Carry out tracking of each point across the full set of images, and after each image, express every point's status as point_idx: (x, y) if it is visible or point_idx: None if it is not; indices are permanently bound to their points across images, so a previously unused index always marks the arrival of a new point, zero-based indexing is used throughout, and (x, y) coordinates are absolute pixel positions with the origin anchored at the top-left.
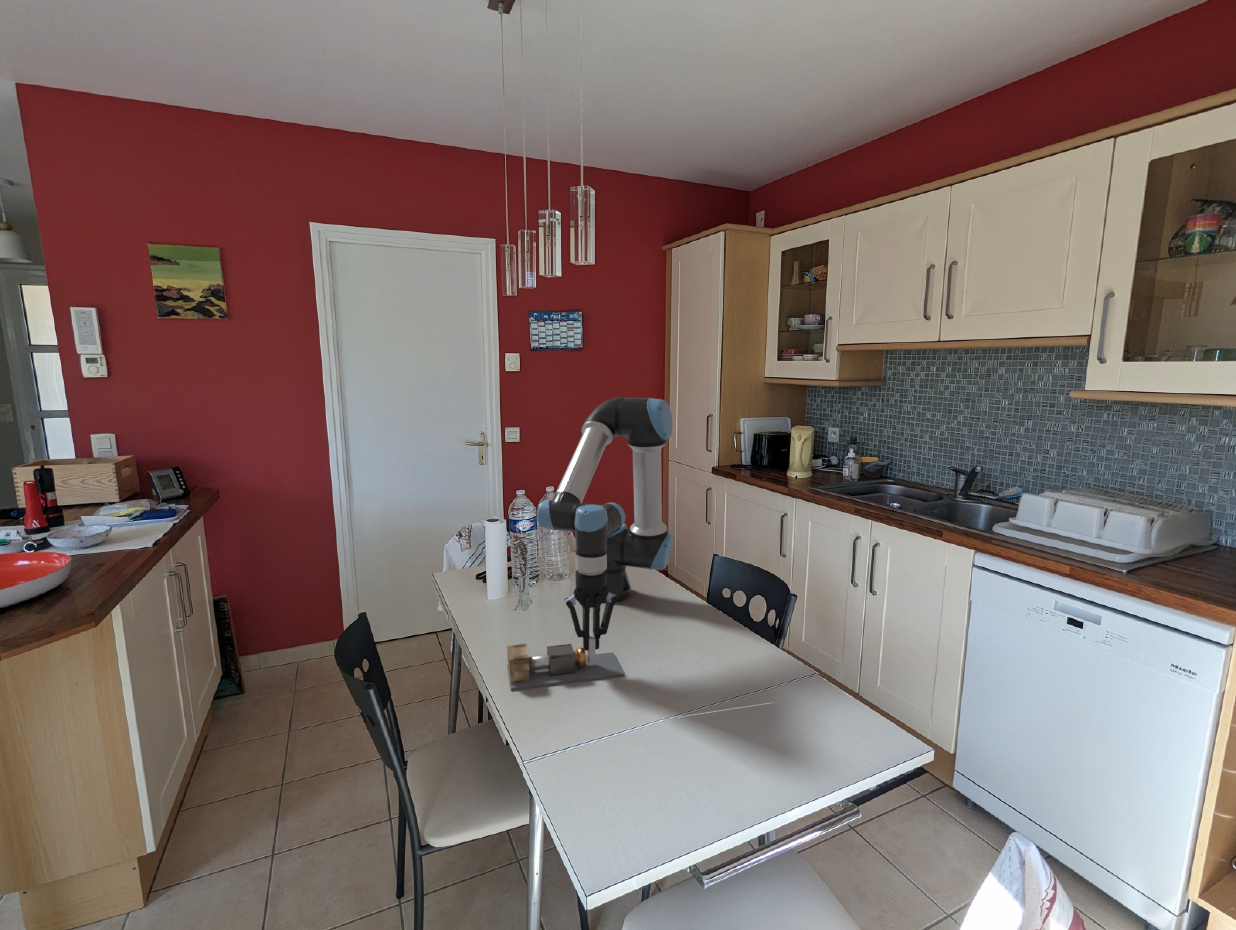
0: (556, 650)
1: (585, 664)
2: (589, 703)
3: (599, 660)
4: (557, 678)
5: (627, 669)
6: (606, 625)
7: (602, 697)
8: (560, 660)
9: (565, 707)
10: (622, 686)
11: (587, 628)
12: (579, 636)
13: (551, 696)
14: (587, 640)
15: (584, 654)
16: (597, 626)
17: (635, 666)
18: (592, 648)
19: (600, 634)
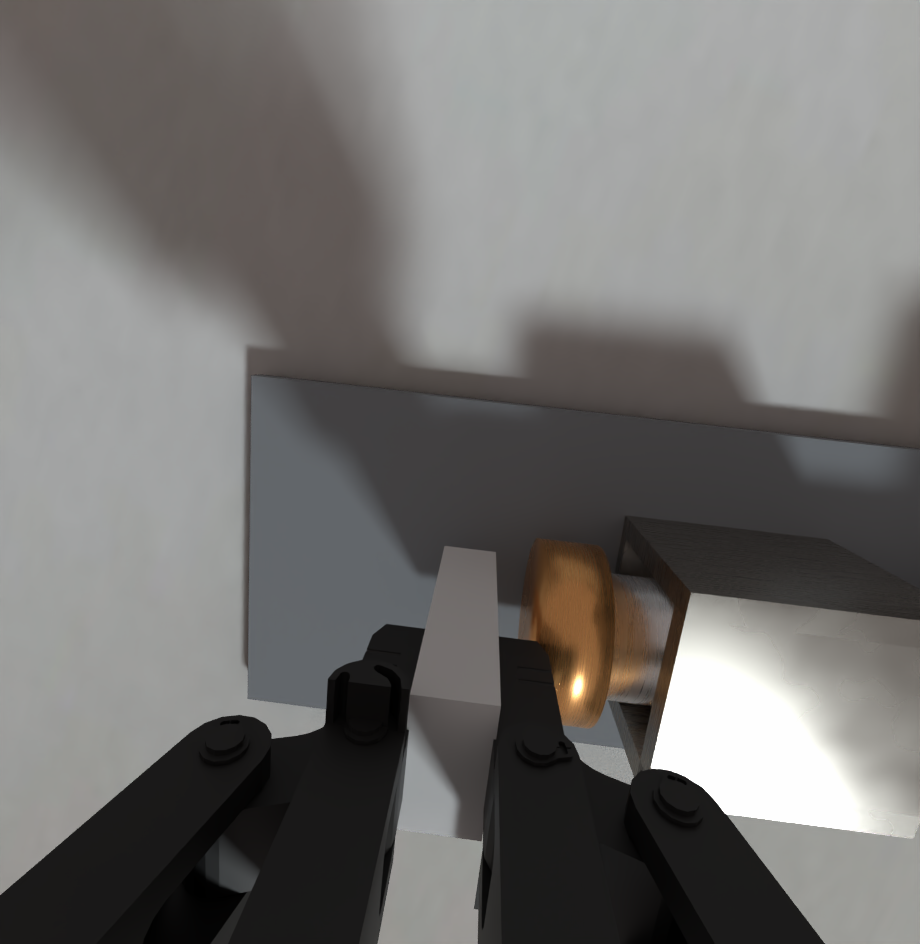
0: (857, 728)
1: (540, 538)
2: (659, 71)
3: (380, 626)
4: (785, 492)
5: (211, 465)
6: (98, 863)
7: (524, 128)
8: (824, 585)
9: (871, 79)
10: (317, 238)
11: (546, 900)
12: (676, 780)
13: (904, 292)
14: (514, 719)
15: (554, 595)
16: (309, 891)
17: (142, 484)
18: (460, 622)
19: (306, 746)
